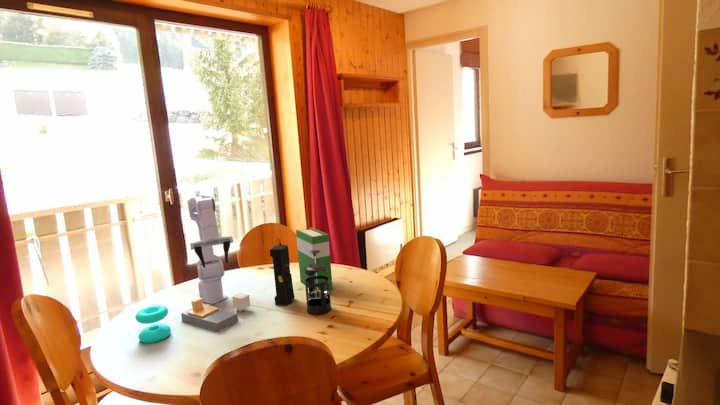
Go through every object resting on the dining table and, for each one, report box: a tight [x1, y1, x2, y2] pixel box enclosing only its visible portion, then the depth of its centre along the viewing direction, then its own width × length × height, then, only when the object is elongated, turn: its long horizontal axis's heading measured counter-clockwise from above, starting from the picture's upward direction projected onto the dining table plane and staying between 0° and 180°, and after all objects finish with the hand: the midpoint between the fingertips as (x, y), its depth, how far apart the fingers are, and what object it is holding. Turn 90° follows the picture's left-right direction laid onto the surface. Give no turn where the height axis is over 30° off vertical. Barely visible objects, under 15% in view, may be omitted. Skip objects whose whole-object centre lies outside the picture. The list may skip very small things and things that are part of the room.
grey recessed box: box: [180, 308, 239, 332], centre depth 156 cm, size 20×9×3 cm, turn 58°
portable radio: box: [269, 238, 296, 306], centre depth 168 cm, size 8×6×25 cm
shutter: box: [188, 297, 220, 318], centre depth 157 cm, size 8×8×4 cm
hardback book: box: [295, 227, 333, 291], centre depth 184 cm, size 18×7×24 cm, turn 30°
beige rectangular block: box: [231, 292, 251, 313], centre depth 164 cm, size 5×4×6 cm
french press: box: [304, 250, 333, 316], centre depth 159 cm, size 12×9×23 cm
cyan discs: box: [135, 304, 172, 344], centre depth 146 cm, size 10×10×10 cm
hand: (215, 264), depth 152 cm, fingers open, 7 cm apart
